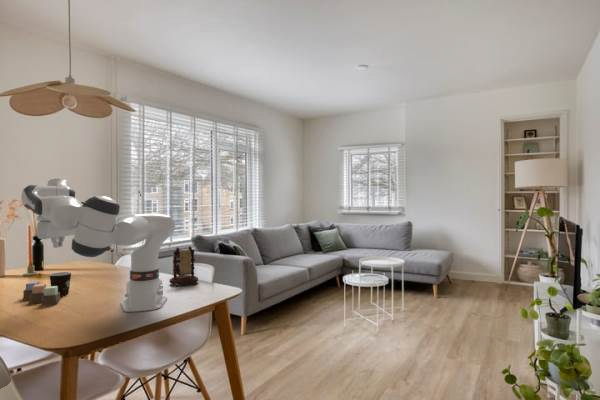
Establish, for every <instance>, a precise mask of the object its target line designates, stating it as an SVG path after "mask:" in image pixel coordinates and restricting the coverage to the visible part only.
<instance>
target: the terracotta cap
mask: <svg viewBox="0 0 600 400" xmlns="http://www.w3.org/2000/svg"><path fill="white" fill-rule="evenodd" d="M46 287H47V283H43V284H42V283H39V284H37V285H34V286H33V287H32V294H34V293H44V288H46Z"/></svg>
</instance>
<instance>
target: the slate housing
mask: <svg viewBox="0 0 600 400" xmlns="http://www.w3.org/2000/svg"><path fill="white" fill-rule="evenodd" d="M22 293H23V298H22V299H29V300H30V294H31V293H32V290H29V291H26V289H24V290H23V291H22Z"/></svg>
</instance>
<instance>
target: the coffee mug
mask: <svg viewBox="0 0 600 400" xmlns="http://www.w3.org/2000/svg"><path fill="white" fill-rule="evenodd" d="M71 276H72V272H71V271H68V272H67V271H61V272H60V271H59V272H53V273H50V274H49V281H50V286H58V292H60V297H64V296H68V295H69V292H70V284H71V278H72V277H71Z"/></svg>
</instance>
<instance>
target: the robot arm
mask: <svg viewBox="0 0 600 400" xmlns="http://www.w3.org/2000/svg"><path fill="white" fill-rule="evenodd" d="M20 199H21V203H22V206H23V207H25V208H26V209H27V210H29V211H31V212H32V213H34V214H35V215H37V217H36V221H38V222H37V225H36V236H37V239H39V240H49V239H50V241H51V243H52V244H53V245H52V247H53V248H54V249H57V248H61V247H62V248H63V246H64V245H63V244H64V242H65V239H66V238H65V237H69V236H74V237H73V238H72V241H71V250H72V251H73V252H74V253H75V254H77V255H79V256H82V257H85V258H96V257H98V256H101V255H102V254H105V252H108V251H110V250H111V249H112V248H111V245H118V246H122V247H128V246H133V245H136V244H139V243H141V242H143V241H144V244H143V245H141V246H138V247H137V248H135V249H133V251H132V252H131V254H130V270H129V281H128V282H127V283H125V284H126V293H125V294H124V297H125V299H123V300H120V304H121V308H122V310H123V312H127V313H128V312H129V313H131V312H147V311H153V310H154V311H155V310H158V309H159V310H160V309H161V308H162V307H163V306H164V304H165V302H167V300H168V296H164V289H163V288H164V285H163V280H161V279H160V278H159V277H160V268H159V255H160V254H159V253H160V249H161V247H162V246H163V243H164V242H165V241H166V240H168V239H169V238H170V237H171V236H172V235H173V233H174V232H175V230H176V222H175V220H174V218H173V217H172V216H171V215H168V214H164V213H163V214H162V213H128V214H121V215H119V214H120V208H121V206H120V204H119V202H118V201H115V200H114V199H113V198H111V197H109V196H105V195H94V196H92V197H89V198H87V200H83V201H81V202H80V200H79V199H78V198H76V190H74V189H73V188H72V187H70V183H69V181H68V179H67V180H66V179H64V178H53V179H49V180H48V181H47V184H46V185H35V184H34V185H33V184H29V185H27V186H25V187H24V188H23V189H22V191H21V197H20Z"/></svg>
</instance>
